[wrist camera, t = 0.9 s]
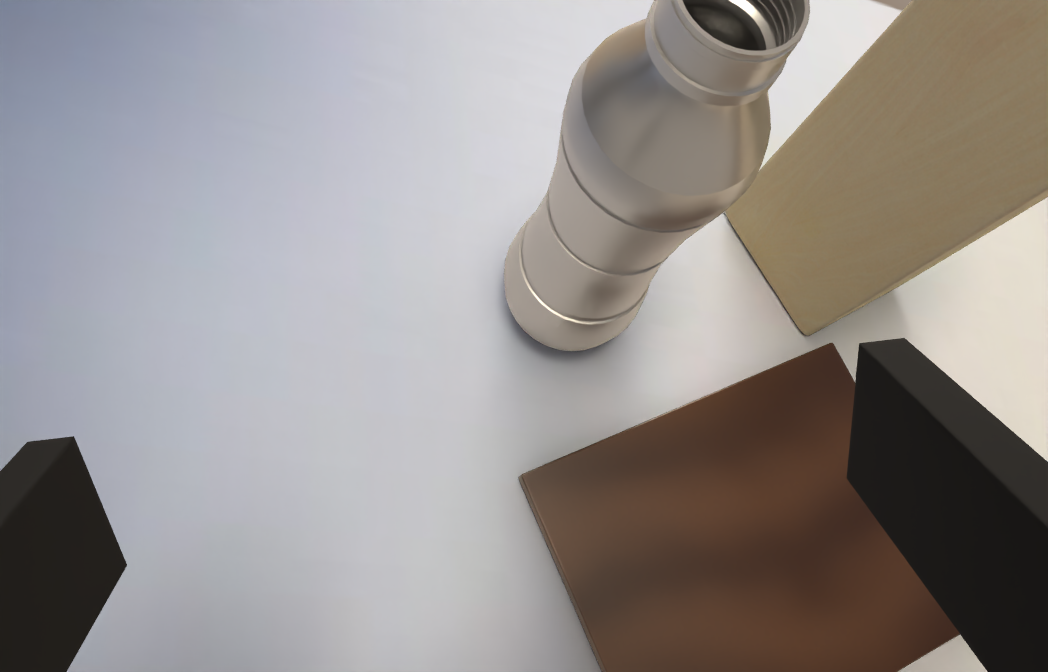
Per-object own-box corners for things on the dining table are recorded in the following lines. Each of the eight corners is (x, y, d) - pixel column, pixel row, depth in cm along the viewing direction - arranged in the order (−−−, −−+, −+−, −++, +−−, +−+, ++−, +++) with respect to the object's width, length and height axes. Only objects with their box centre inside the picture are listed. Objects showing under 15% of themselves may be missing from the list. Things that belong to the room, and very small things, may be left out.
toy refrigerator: (910, 285, 41) (1386, -7, 22) (806, 343, 39) (1232, 75, 20) (825, 163, 43) (1197, -208, 24) (720, 212, 41) (1035, -155, 21)
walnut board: (517, 477, 34) (520, 474, 34) (824, 346, 39) (832, 341, 39) (659, 805, 31) (666, 809, 30) (975, 618, 36) (987, 618, 35)
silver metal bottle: (635, 250, 39) (867, -75, 21) (618, 378, 37) (863, 140, 18) (509, 220, 39) (631, -144, 20) (483, 348, 36) (596, 70, 18)
